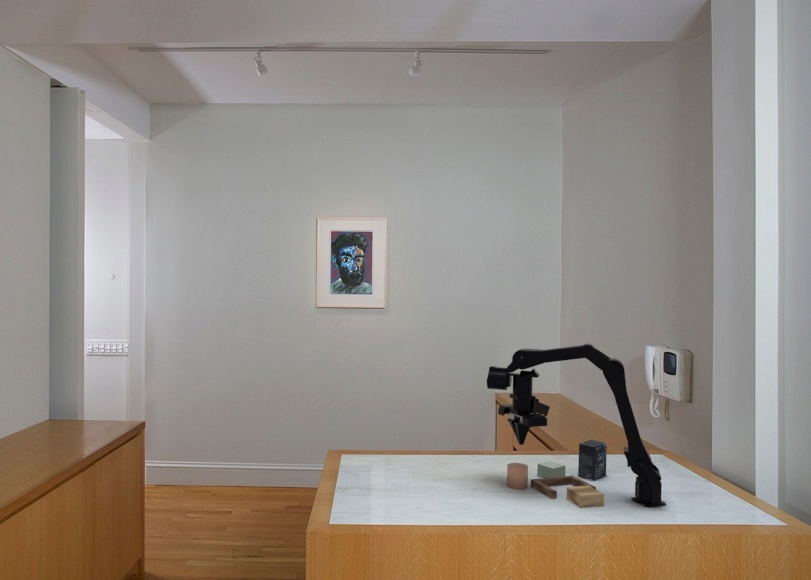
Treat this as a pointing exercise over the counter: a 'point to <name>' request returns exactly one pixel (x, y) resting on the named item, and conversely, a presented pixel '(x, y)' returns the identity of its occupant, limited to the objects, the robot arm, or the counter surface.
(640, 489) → the robot arm
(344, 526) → the counter surface
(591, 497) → the oak block
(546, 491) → the walnut bay
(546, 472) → the matte sage squarish block
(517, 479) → the tan round cylinder
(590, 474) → the box
